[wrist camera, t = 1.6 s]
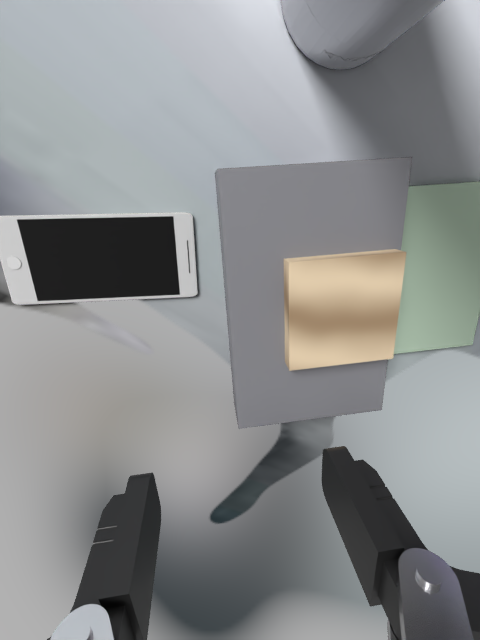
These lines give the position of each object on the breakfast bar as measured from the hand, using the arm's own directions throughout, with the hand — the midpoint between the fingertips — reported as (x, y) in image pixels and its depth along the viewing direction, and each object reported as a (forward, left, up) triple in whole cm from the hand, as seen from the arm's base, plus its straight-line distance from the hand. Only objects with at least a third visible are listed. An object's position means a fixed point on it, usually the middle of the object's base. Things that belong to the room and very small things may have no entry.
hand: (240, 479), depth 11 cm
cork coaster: (0, +10, -16) cm, 19 cm away
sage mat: (-1, +21, -20) cm, 29 cm away
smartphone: (-5, -9, -20) cm, 23 cm away
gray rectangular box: (0, +8, -20) cm, 21 cm away
